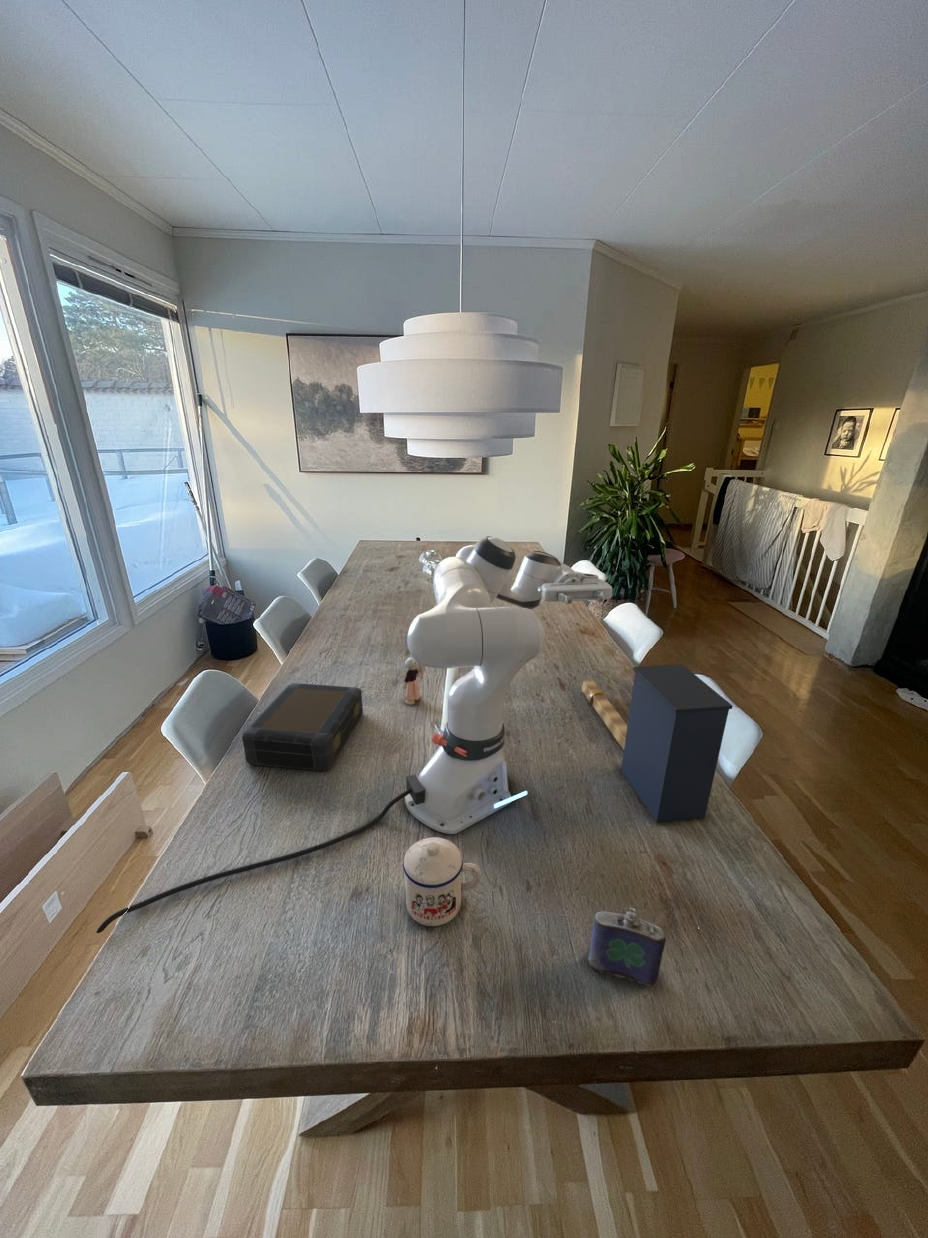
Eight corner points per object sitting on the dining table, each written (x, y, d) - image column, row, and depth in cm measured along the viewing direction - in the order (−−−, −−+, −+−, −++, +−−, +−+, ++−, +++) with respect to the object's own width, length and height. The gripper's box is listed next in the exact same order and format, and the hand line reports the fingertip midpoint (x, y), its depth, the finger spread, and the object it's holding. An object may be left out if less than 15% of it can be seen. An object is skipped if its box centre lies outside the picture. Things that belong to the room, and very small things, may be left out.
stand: (619, 769, 113) (633, 667, 104) (664, 765, 114) (682, 664, 105) (655, 824, 98) (676, 709, 88) (707, 818, 99) (732, 705, 90)
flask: (587, 969, 72) (595, 913, 68) (589, 949, 74) (596, 894, 70) (657, 990, 69) (669, 933, 65) (656, 969, 72) (668, 913, 68)
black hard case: (291, 706, 136) (287, 681, 134) (365, 712, 134) (363, 686, 131) (240, 765, 113) (235, 735, 110) (329, 773, 111) (326, 743, 108)
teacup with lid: (404, 932, 77) (402, 873, 72) (404, 881, 85) (402, 825, 81) (484, 924, 78) (486, 866, 74) (476, 875, 86) (478, 820, 82)
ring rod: (579, 692, 144) (580, 679, 142) (594, 691, 145) (595, 678, 143) (623, 758, 118) (626, 742, 116) (641, 756, 118) (644, 740, 117)
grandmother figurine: (415, 707, 136) (414, 664, 132) (401, 706, 137) (399, 663, 133) (423, 693, 143) (422, 652, 139) (410, 692, 144) (408, 651, 140)
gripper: (536, 576, 152) (550, 591, 140) (601, 574, 155) (621, 588, 142) (535, 596, 155) (548, 612, 142) (599, 594, 157) (618, 609, 145)
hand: (585, 600), depth 142 cm, fingers open, 8 cm apart
